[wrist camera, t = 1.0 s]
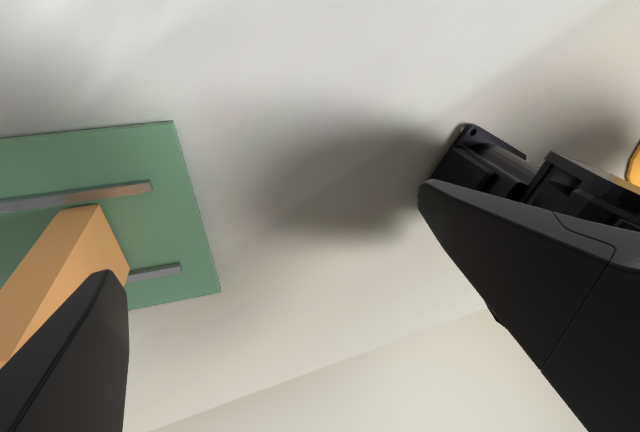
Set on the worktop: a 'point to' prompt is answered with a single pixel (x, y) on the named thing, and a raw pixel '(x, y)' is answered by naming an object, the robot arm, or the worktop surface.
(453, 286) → the worktop surface
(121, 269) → the orange block
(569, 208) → the robot arm
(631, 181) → the cup
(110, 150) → the board
